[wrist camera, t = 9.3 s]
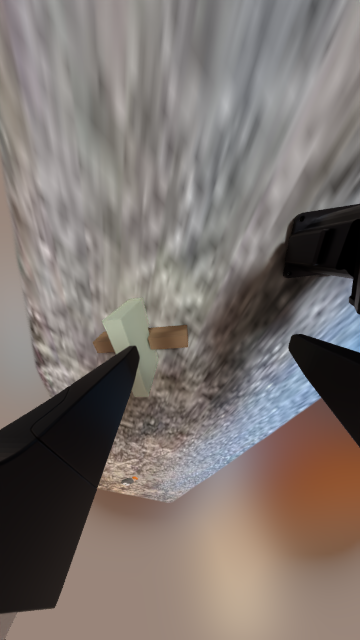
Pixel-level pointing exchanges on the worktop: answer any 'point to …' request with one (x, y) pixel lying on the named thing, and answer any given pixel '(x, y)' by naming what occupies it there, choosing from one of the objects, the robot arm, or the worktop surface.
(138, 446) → the worktop surface
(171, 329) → the walnut rail
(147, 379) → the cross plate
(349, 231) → the robot arm
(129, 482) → the key chain
